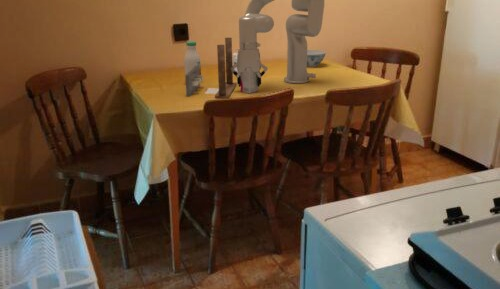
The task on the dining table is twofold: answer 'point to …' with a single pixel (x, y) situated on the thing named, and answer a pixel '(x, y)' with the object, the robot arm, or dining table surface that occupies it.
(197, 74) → the panel
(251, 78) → the supplement box
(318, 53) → the chinaware
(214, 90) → the pad
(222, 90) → the gate
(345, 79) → the dining table surface
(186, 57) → the milk bottle
